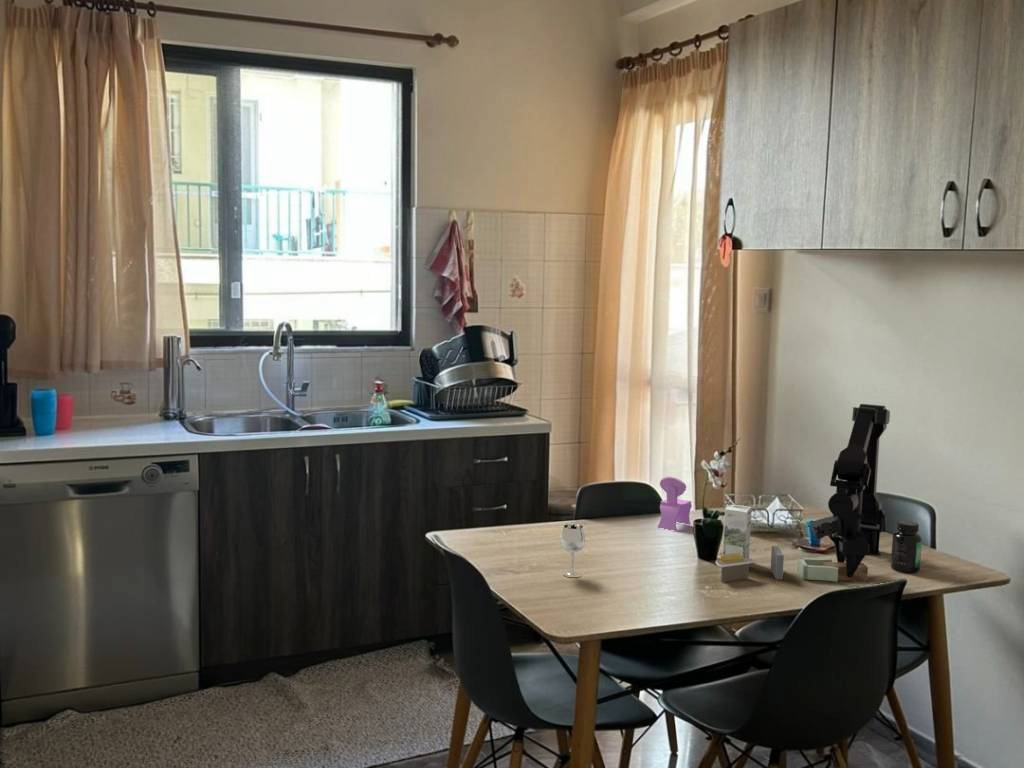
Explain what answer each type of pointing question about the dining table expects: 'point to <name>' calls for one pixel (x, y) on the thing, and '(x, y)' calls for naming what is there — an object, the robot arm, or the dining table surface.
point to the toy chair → (673, 504)
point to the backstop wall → (777, 562)
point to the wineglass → (572, 541)
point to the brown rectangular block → (842, 574)
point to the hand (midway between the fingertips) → (844, 571)
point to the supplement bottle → (906, 548)
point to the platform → (734, 567)
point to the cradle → (817, 569)
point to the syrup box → (737, 530)
